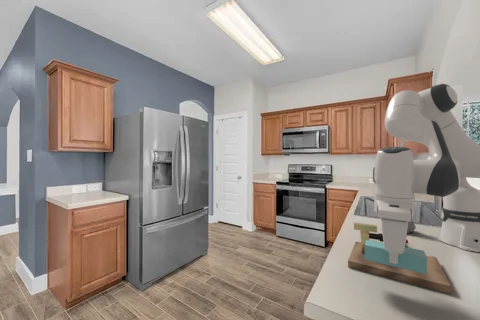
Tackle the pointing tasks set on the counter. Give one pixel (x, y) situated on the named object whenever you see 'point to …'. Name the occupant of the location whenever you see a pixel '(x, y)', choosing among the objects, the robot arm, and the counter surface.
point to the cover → (407, 260)
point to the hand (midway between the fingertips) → (393, 257)
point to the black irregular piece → (379, 237)
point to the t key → (364, 232)
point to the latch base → (402, 271)
